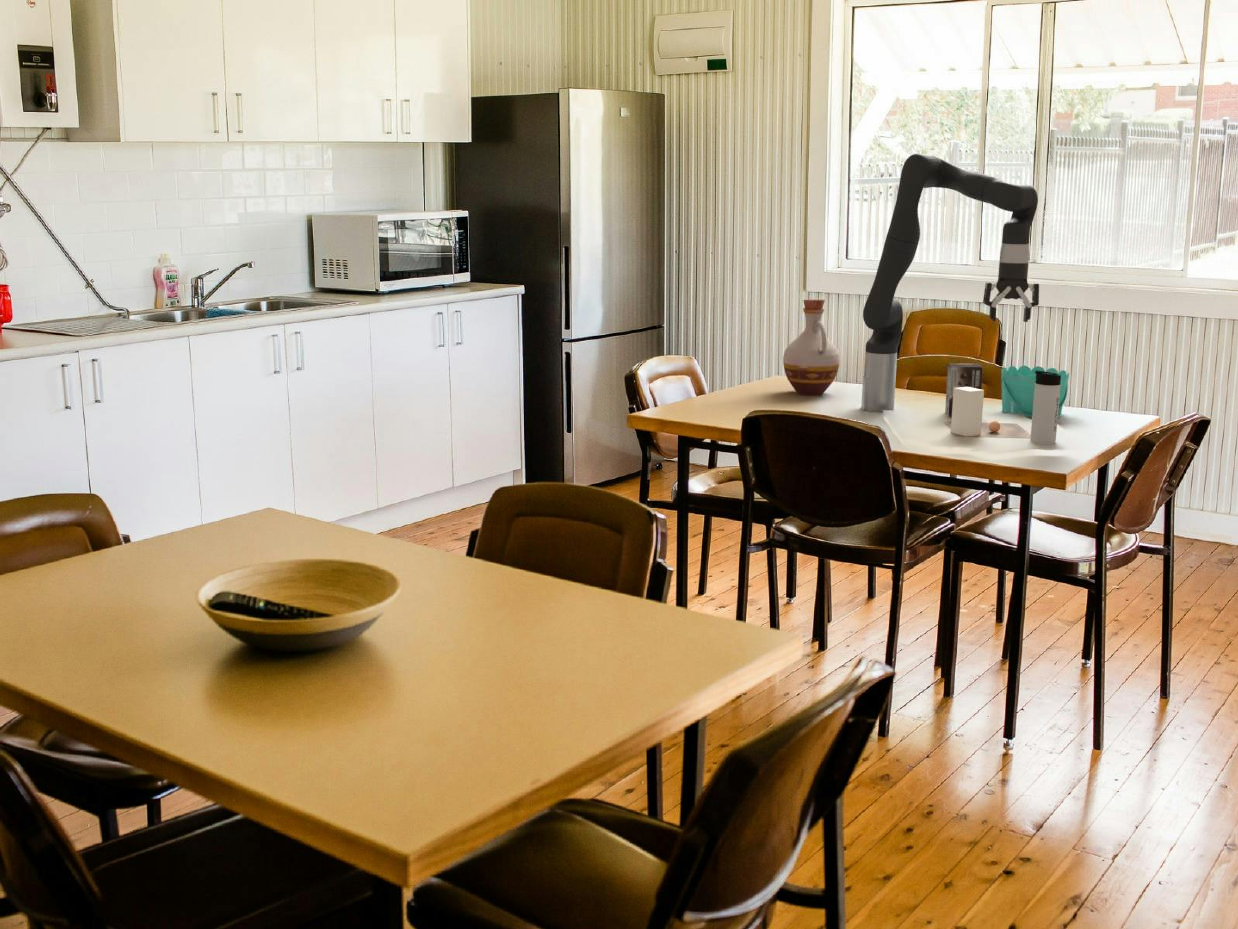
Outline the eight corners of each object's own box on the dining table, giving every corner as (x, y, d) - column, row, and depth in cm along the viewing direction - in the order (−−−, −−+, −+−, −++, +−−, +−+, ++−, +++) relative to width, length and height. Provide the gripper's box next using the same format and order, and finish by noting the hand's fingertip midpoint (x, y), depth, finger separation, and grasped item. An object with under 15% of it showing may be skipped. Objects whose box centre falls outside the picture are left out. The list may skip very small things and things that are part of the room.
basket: (1063, 409, 390) (1067, 367, 387) (1068, 420, 373) (1072, 376, 370) (997, 406, 395) (1000, 364, 392) (999, 417, 378) (1002, 373, 375)
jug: (849, 398, 405) (854, 301, 398) (795, 400, 401) (799, 302, 394) (825, 388, 424) (829, 295, 417) (773, 389, 420) (777, 296, 413)
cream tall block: (964, 430, 349) (967, 386, 347) (980, 434, 344) (984, 390, 341) (950, 432, 347) (953, 387, 344) (966, 436, 342) (969, 391, 339)
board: (956, 441, 342) (957, 436, 342) (943, 427, 362) (944, 421, 361) (1034, 443, 341) (1034, 438, 340) (1016, 428, 360) (1017, 423, 360)
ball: (989, 433, 346) (990, 422, 346) (987, 430, 349) (988, 419, 349) (1000, 433, 346) (1001, 422, 346) (998, 431, 349) (999, 420, 349)
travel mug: (1024, 444, 340) (1031, 368, 335) (1049, 444, 340) (1055, 368, 336) (1034, 449, 334) (1040, 372, 329) (1059, 449, 334) (1065, 372, 330)
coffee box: (976, 418, 374) (980, 363, 371) (979, 422, 368) (984, 366, 365) (943, 417, 375) (947, 362, 372) (947, 422, 369) (951, 365, 365)
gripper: (1037, 260, 350) (1032, 320, 354) (984, 259, 351) (979, 319, 355) (1044, 262, 343) (1039, 323, 347) (989, 261, 344) (985, 322, 348)
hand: (1009, 321), depth 351 cm, fingers open, 8 cm apart
